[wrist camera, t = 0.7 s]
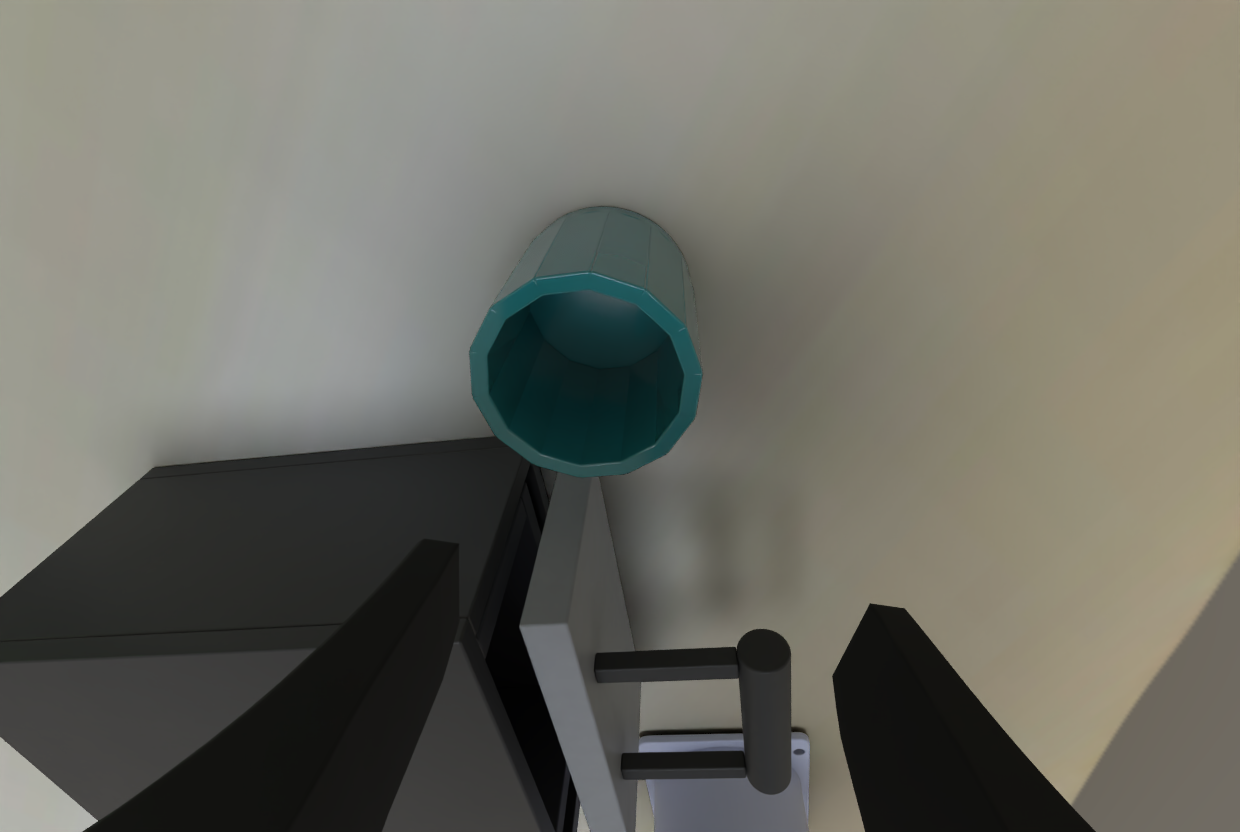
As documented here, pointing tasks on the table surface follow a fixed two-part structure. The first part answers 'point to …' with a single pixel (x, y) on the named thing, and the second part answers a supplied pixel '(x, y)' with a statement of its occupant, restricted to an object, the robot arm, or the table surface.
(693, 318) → the container
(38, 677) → the dark grey storage box
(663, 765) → the drawer
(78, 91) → the table surface
